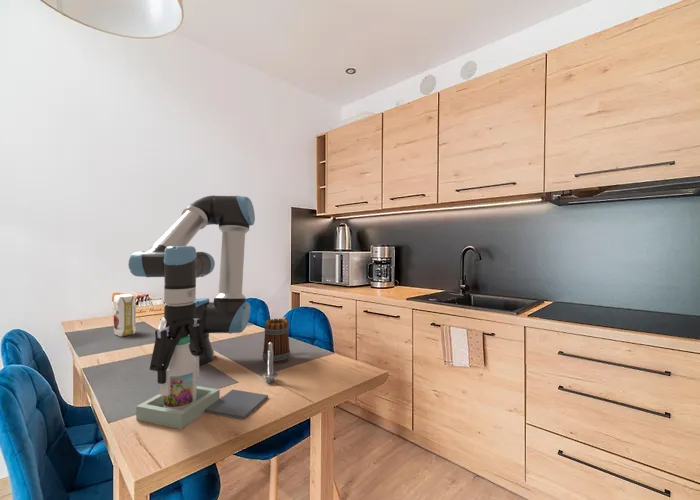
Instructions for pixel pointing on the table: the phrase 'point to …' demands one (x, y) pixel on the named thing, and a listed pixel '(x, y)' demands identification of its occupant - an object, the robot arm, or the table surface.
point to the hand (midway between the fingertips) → (180, 386)
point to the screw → (270, 366)
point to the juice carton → (124, 314)
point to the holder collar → (176, 418)
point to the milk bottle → (181, 377)
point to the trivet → (236, 404)
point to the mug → (277, 340)
